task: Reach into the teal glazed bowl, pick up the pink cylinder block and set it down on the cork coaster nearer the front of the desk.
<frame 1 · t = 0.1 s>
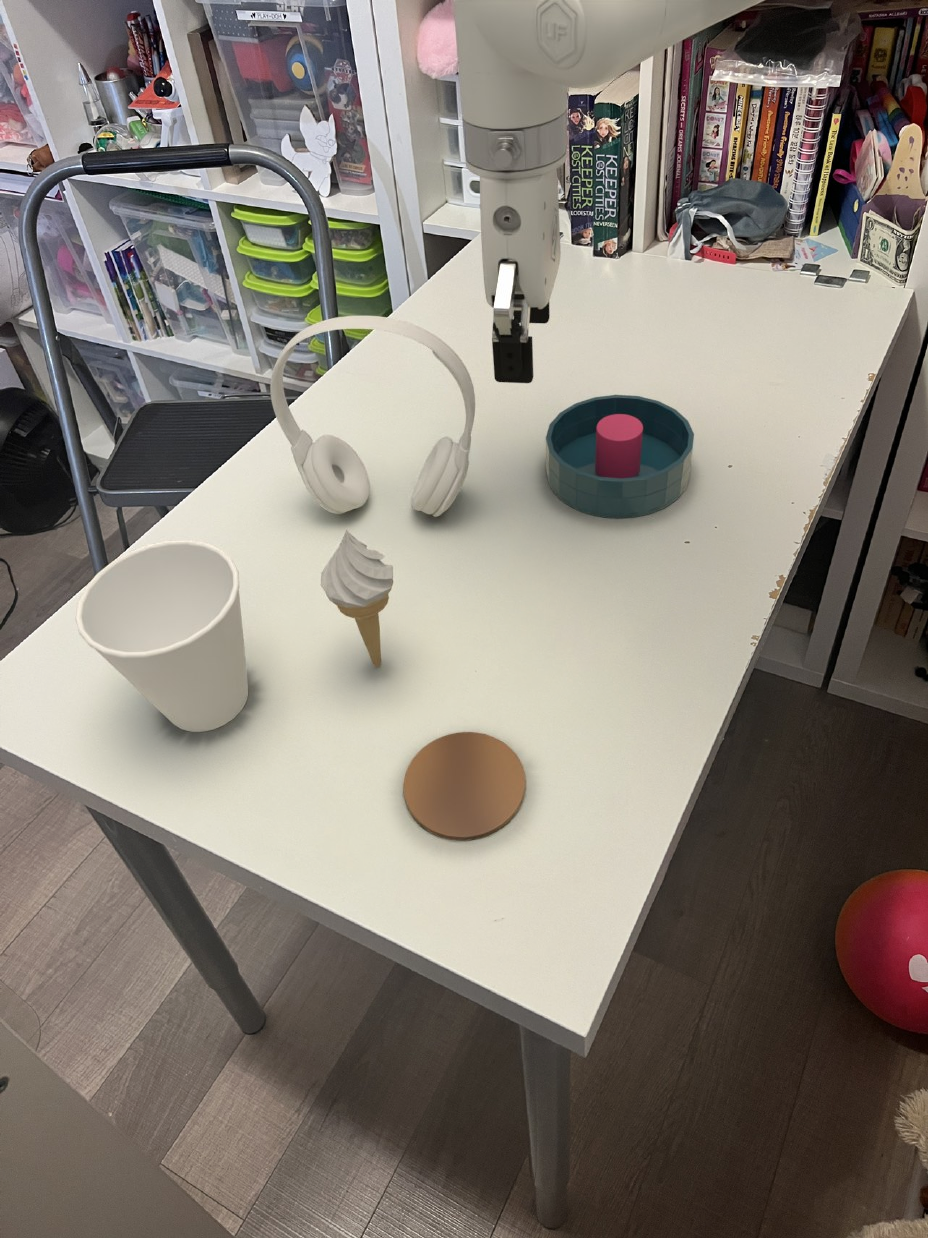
hand: (523, 349, 77), 15 cm above the table, tool pointing down, fingers open, 9 cm apart
bowl: (617, 472, 89), on the table
headphones: (392, 507, 88), on the table
ice cream cone: (378, 666, 74), on the table
pink cylinder block: (617, 468, 88), resting on bowl
cup: (208, 699, 73), on the table
coaster: (464, 785, 65), on the table
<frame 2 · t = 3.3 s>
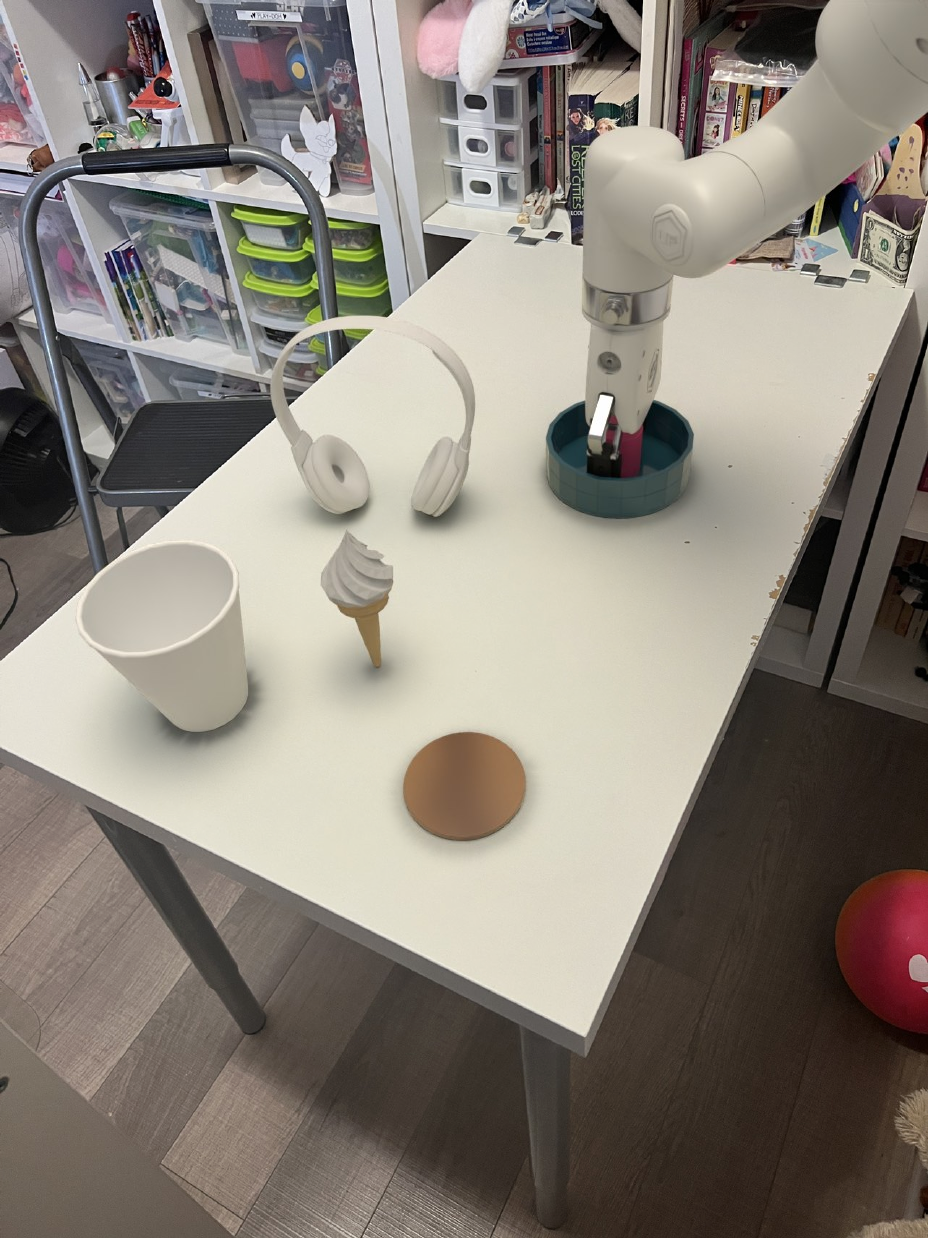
hand: (617, 456, 87), 2 cm above the table, tool pointing down, fingers open, 9 cm apart
nothing on the table moved.
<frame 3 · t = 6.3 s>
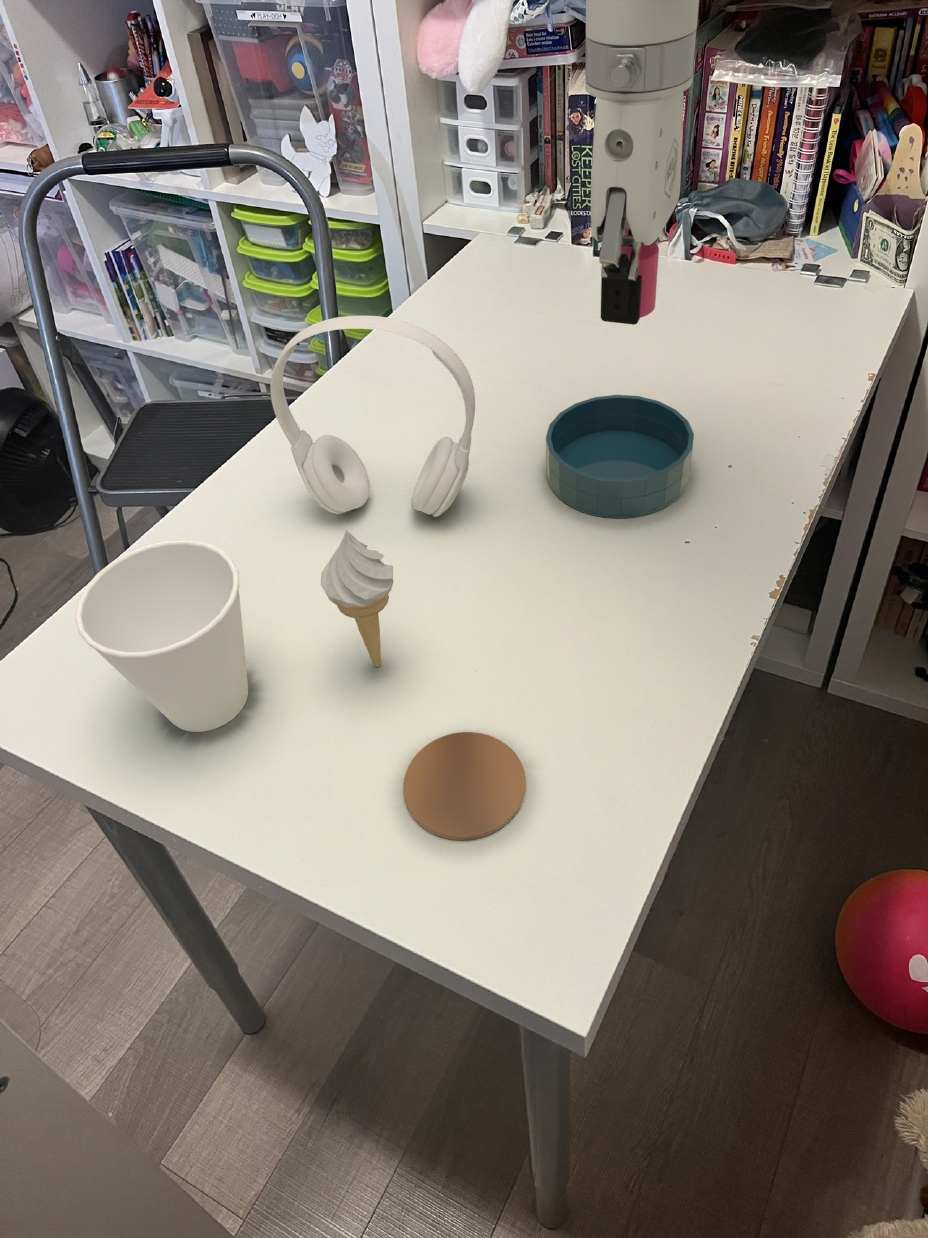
hand: (628, 304, 75), 18 cm above the table, tool pointing down, fingers closed on pink cylinder block, 4 cm apart
pink cylinder block: (628, 306, 75), point 18 cm above the table, touching gripper
everything else where it was.
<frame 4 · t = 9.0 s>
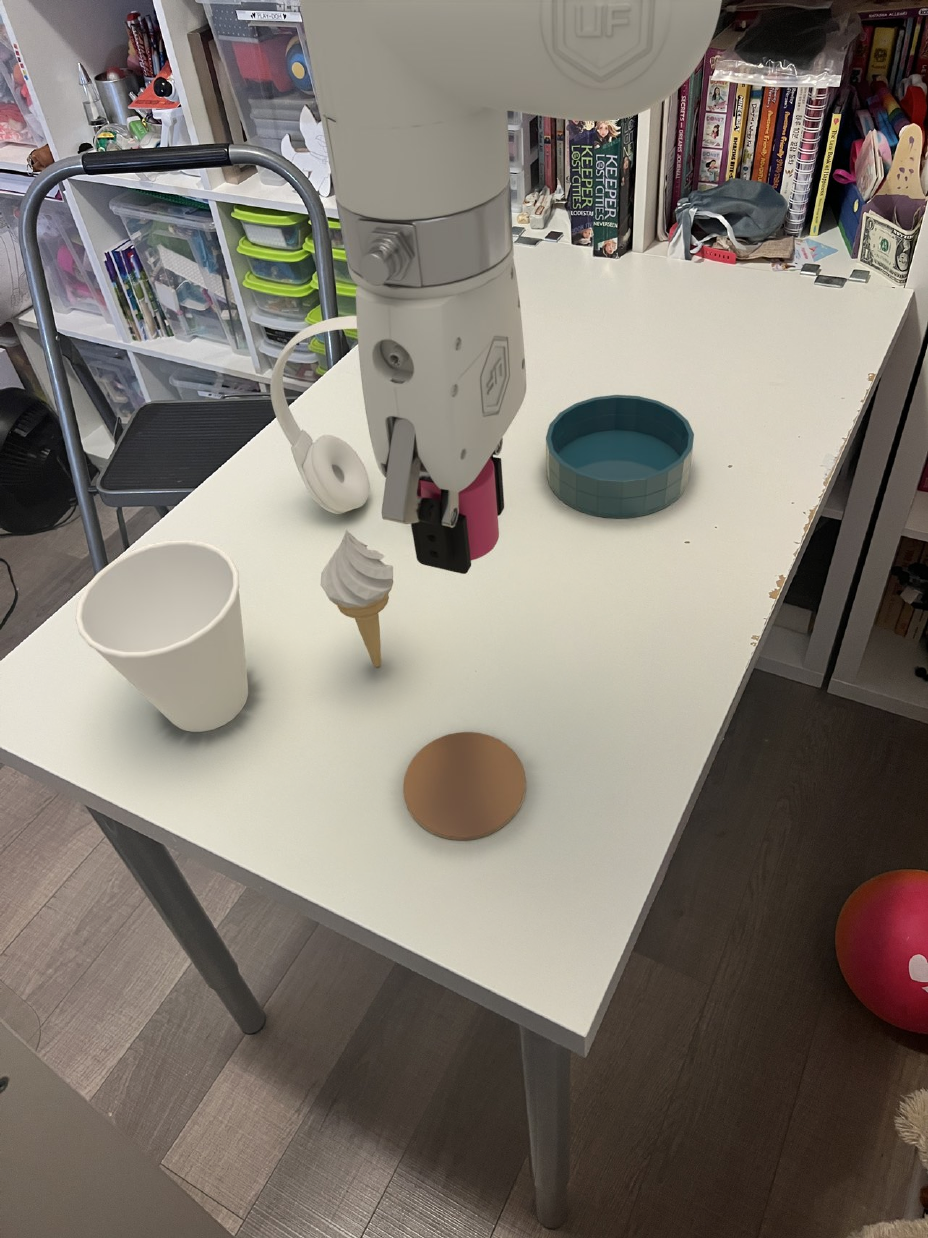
hand: (461, 534, 52), 21 cm above the table, tool pointing down, fingers closed on pink cylinder block, 4 cm apart
pink cylinder block: (461, 537, 52), point 21 cm above the table, touching gripper
everything else where it was.
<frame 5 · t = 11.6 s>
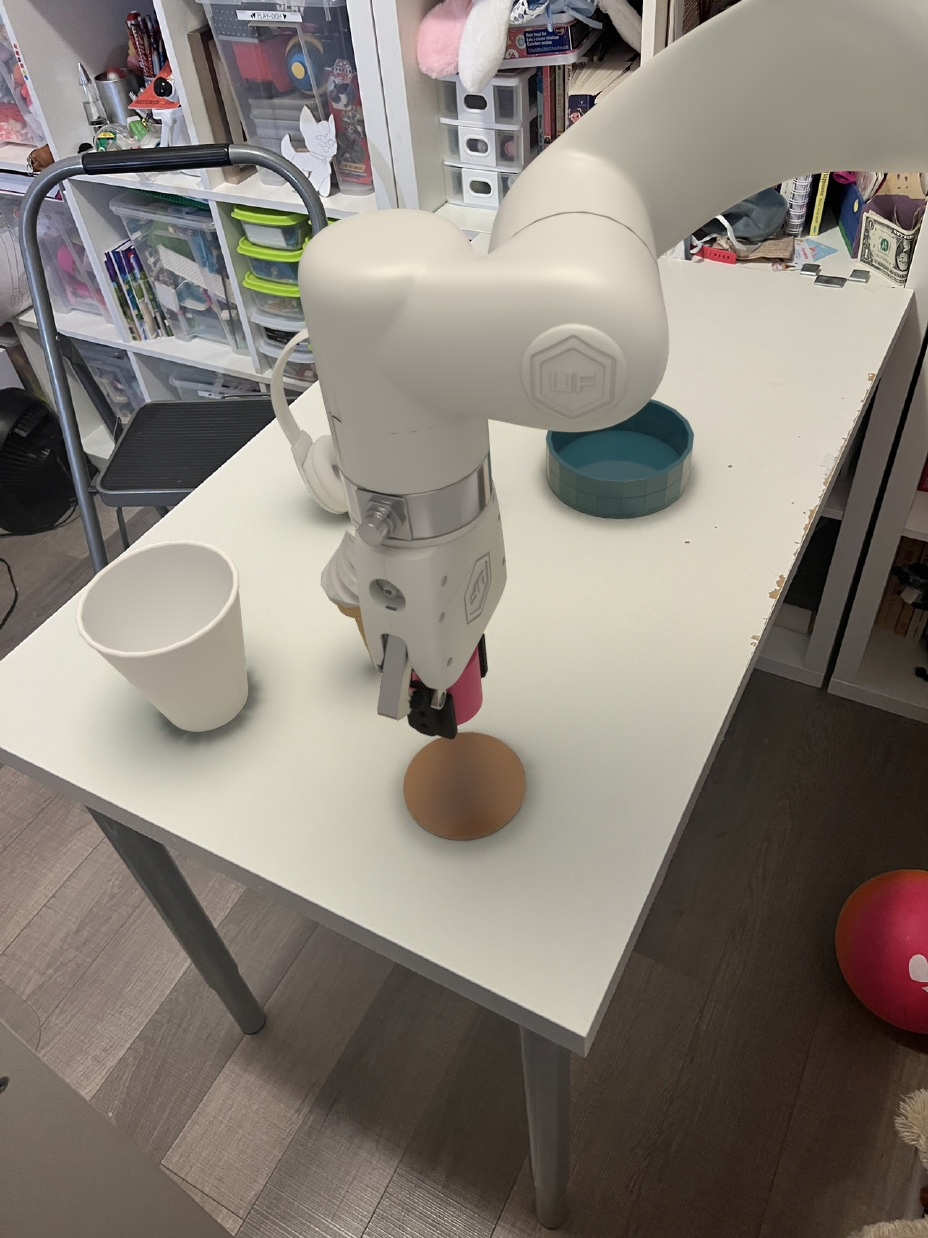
hand: (449, 697, 58), 11 cm above the table, tool pointing down, fingers closed on pink cylinder block, 4 cm apart
pink cylinder block: (449, 699, 58), point 10 cm above the table, touching gripper
everything else where it was.
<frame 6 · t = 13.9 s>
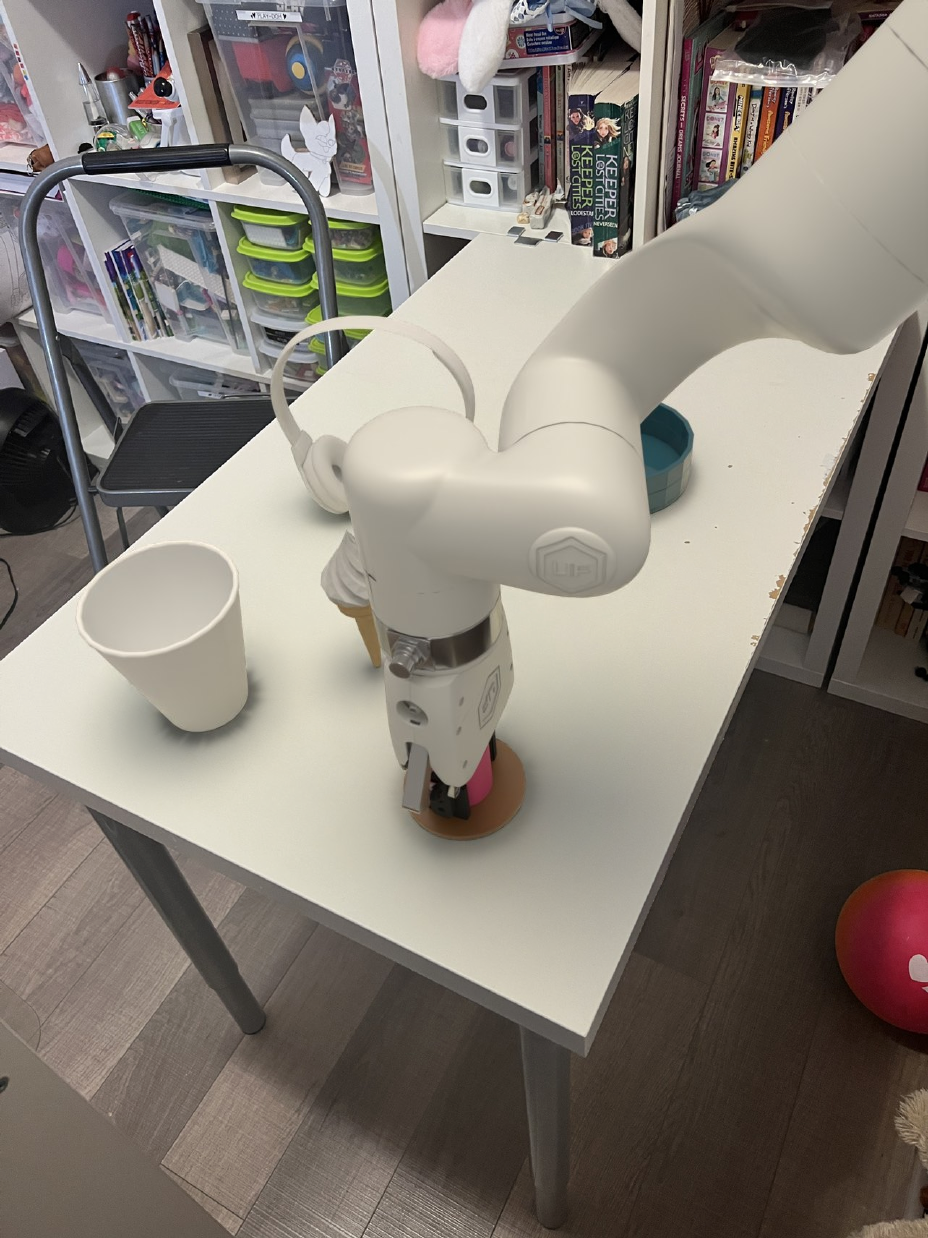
hand: (462, 780, 65), 1 cm above the table, tool pointing down, fingers closed on pink cylinder block, 4 cm apart
pink cylinder block: (462, 781, 65), resting on coaster, touching gripper
everything else where it was.
when the fingers open (1 cm above the table, at t = 14.2 s): pink cylinder block stays where it is, resting on coaster.
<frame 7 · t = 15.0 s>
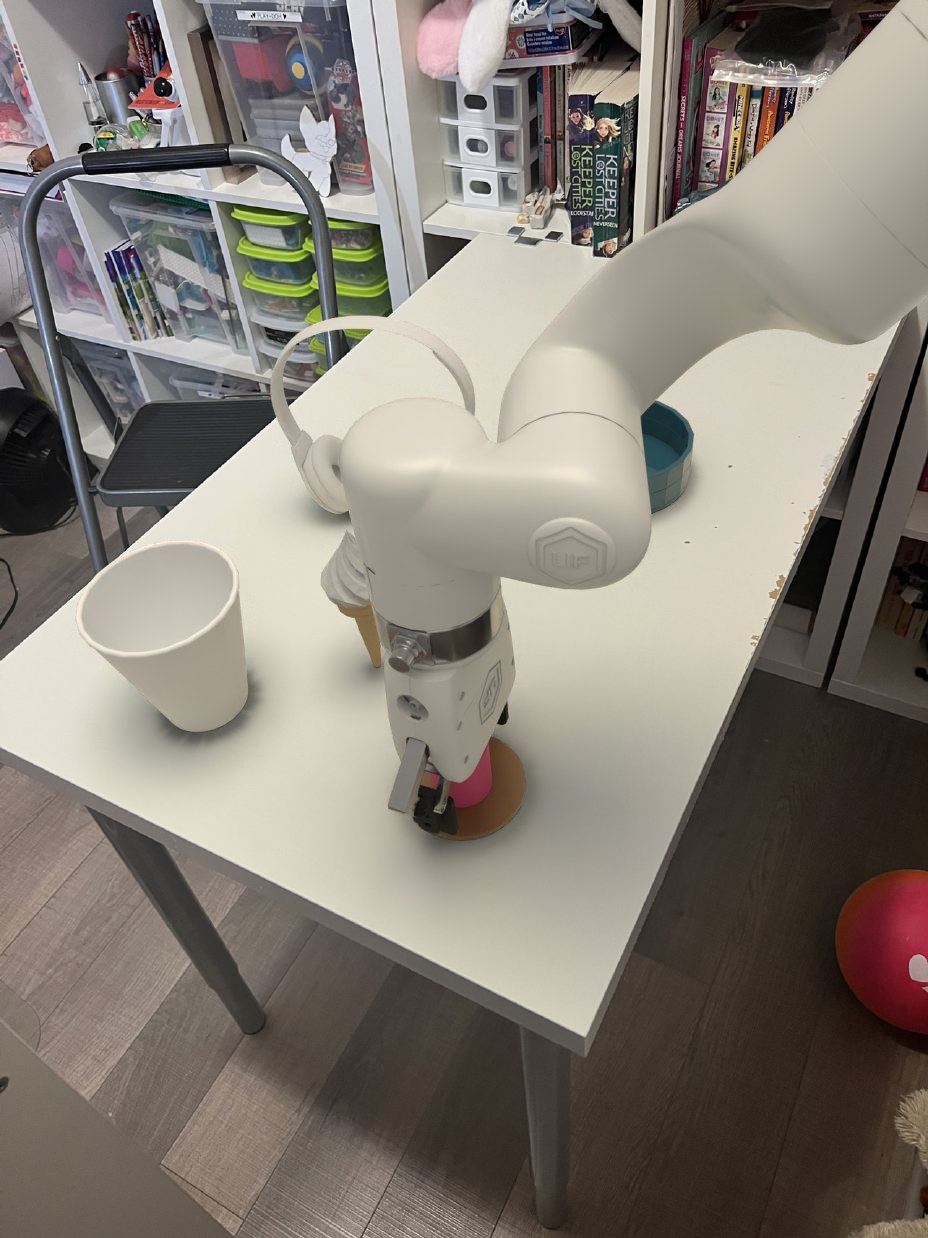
hand: (463, 769, 64), 2 cm above the table, tool pointing down, fingers open, 9 cm apart
pink cylinder block: (462, 782, 65), resting on coaster
everything else where it was.
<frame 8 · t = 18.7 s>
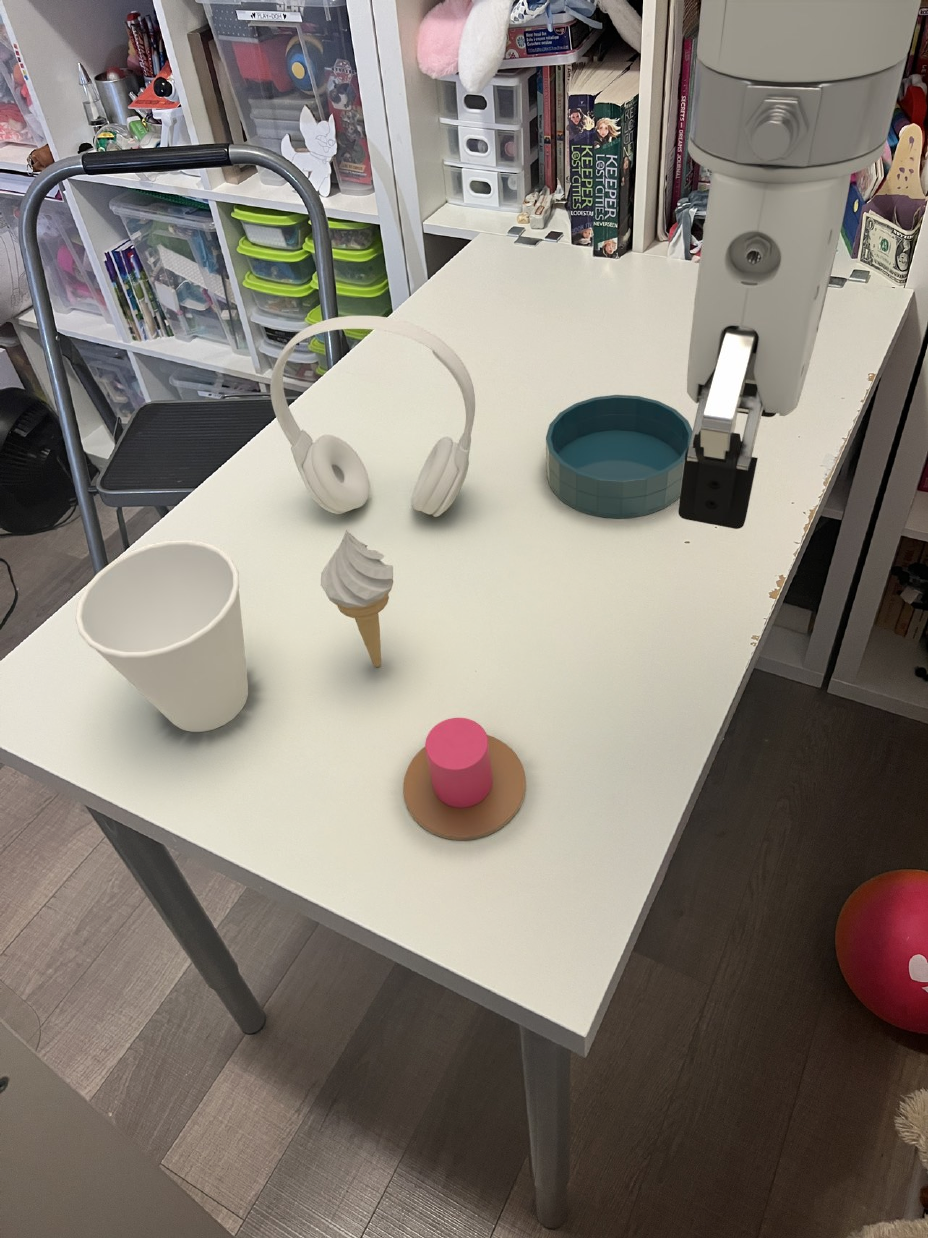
hand: (730, 462, 47), 26 cm above the table, tool pointing down, fingers open, 9 cm apart
nothing on the table moved.
at the end: pink cylinder block inside the target area on the coaster (0.1 cm from its centre), point 0.5 cm above the coaster's base; pink cylinder block tilted 0°; the gripper is holding nothing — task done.
